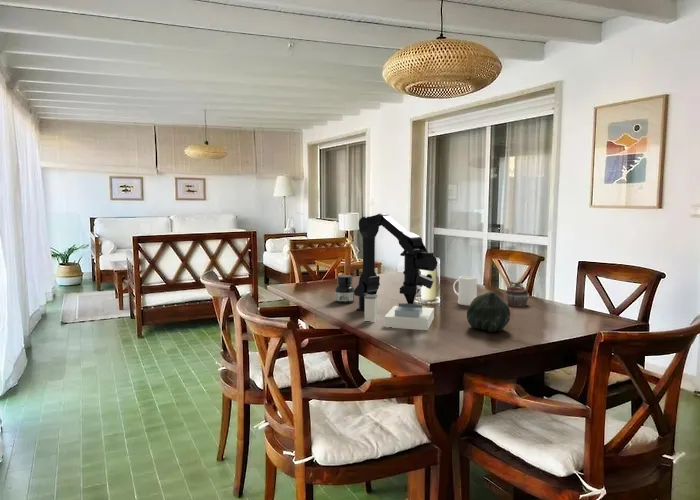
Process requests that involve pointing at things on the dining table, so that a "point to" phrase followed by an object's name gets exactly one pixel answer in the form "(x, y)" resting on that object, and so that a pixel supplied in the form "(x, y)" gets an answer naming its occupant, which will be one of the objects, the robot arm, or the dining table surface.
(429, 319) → the socket block
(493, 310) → the squash
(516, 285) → the cupcake
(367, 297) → the peg
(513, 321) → the dining table surface
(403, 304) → the panel
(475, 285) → the mug
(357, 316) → the dining table surface
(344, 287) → the ink bottle
